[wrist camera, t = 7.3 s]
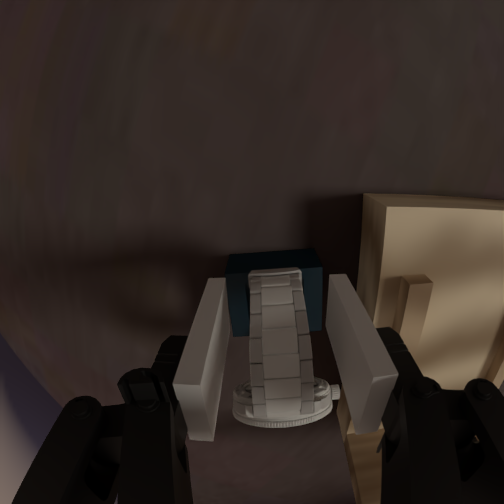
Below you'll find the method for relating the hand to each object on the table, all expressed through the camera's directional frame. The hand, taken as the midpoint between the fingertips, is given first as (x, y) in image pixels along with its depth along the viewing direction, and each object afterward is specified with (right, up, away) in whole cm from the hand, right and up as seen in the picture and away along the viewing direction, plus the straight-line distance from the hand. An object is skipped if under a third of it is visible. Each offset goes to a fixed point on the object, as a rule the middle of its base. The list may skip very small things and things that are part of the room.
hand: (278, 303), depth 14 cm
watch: (0, 0, +7) cm, 7 cm away
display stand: (+14, -3, +8) cm, 17 cm away
